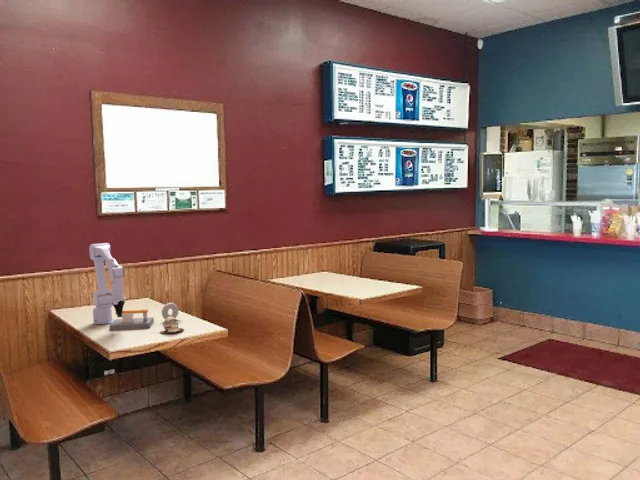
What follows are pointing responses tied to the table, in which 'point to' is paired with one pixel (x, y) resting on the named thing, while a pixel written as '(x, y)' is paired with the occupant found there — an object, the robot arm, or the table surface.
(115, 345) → the table surface
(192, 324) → the table surface
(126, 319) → the plug
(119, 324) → the socket block
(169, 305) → the donut
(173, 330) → the skull
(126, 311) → the orange paddle handle
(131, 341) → the table surface
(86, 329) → the table surface
